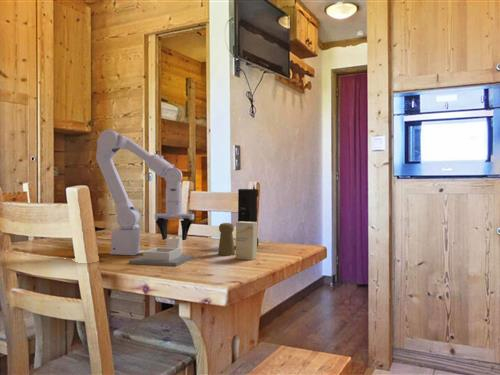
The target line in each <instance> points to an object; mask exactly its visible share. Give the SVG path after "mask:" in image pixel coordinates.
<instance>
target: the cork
mask: <svg viewBox="0 0 500 375" xmlns="http://www.w3.org/2000/svg"><path fill="white" fill-rule="evenodd" d="M234 229H235V226H234V224H233V223H231V222H223V223H220V224H219V226H218V230H219V232H220V234H219V243H218V251H217V255H218V256H222V257H230V256H231V255H232V256H234V255H235V256H236V249H235V244H234V236H233V232H234Z"/></svg>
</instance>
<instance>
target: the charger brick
mask: <svg viewBox="0 0 500 375" xmlns="http://www.w3.org/2000/svg"><path fill="white" fill-rule="evenodd" d="M165 248H181V254H182V253H183V240H182V236H170V237H167V238H166V239H165Z"/></svg>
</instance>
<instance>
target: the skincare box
mask: <svg viewBox="0 0 500 375" xmlns="http://www.w3.org/2000/svg"><path fill="white" fill-rule="evenodd" d="M257 238H258V221H257V222H244V221H240V222H238V221H236V224H235V260H236V259H238V260H245V261H246V260H248V261H253V260H254V259H257V258H258V257H257V255H258V247H257Z"/></svg>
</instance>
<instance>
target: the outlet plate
mask: <svg viewBox="0 0 500 375" xmlns="http://www.w3.org/2000/svg"><path fill="white" fill-rule="evenodd" d="M194 259H195V254H182V253H181V248H166V247H159V246H158V247H157V246H156V247H154V248H150V249H148V250H144V251H143V252H142V256H138V257H135V258H132V259H129V260H128V264H132V265H148V266H150V265H151V266H166V267H167V266H169V267H177V266H180V265H182V264H184V263H186V262H188V261H191V260H194Z"/></svg>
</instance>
